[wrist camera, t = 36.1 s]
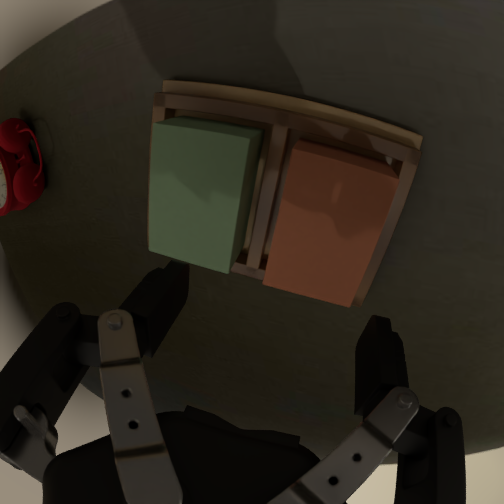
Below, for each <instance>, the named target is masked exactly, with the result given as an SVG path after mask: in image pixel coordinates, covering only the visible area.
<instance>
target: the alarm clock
mask: <svg viewBox="0 0 504 504" xmlns="http://www.w3.org/2000/svg"><path fill="white" fill-rule="evenodd" d="M31 134H32V136H33V138H34V140H35V143H36V146H37V149H38V153H39V158H40V166H39V165H37V164H35V163H34V162H33V158H32V155H31V152H30V149H29V146H28V145H29V143H30V140H31ZM42 165H43V162H42V155H41V151H40V147H39V144H38V141H37V139H36V136H35V134H34V133H33V131H32V130H31V129H30V128H29V126H28V125H27V124H26V123H25V122H24V121H23V120H21V119H17V118H11V119H8V120H6V121H4V122H3V123H2V124H1V125H0V216H4V215H6V214H7V213H8V212H10V211H12V210H23V209H24V208H26V207H28V206H29V205H30V203H32V202H34V201H36V200H37V199H38V198H39V197H40V196H41V194H42V192H43V190H44V186H45V176H44V173H43V170H42Z"/></svg>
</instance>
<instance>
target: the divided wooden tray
mask: <svg viewBox="0 0 504 504" xmlns="http://www.w3.org/2000/svg"><path fill="white" fill-rule="evenodd" d="M182 115H183V116H190V117H197V118H204V119H211V120H217V121H223V122H229V123H235V124H240V125H245V126H251V127H256V128H261V129H265V133H264V138H263V144H262V149H261V154H260V160H259V165H258V171H257V176H256V182H255V187H254V193H253V198H252V204H251V209H250V215H249V220H248V226H247V231H246V237H245V243H244V246H243V248H242V250H241V252H240V254H239V256H238V257H237V259H236V261H235V263H234V265H233V267H232V268H231V270H230V271H231V272H235V273H238V274H242V275H245V276H249V277H252V278H256V279H259V280H263V279H264V274H265V270H266V266H267V261H268V257H269V253H270V248H271V244H272V239H273V235H274V230H275V226H276V221H277V217H278V212H279V208H280V203H281V199H282V194H283V190H284V185H285V180H286V176H287V171H288V167H289V162H290V157H291V153H292V149H293V147H294V146H295V144H296V143H297V141H298V140H299V138H304V139H308V140H312V141H316V142H320V143H324V144H327V145H331V146H335V147H338V148H342V149H345V150H349V151H352V152H356V153H359V154H362V155H366V156H369V157H372V158H375V159H378V160H381V161H385V162H387V163H388V164H389V165H390V166H391V168H392V169H393V171H394V172H395V173H396V175H397V176H398V178H399V179H400V181H399V184H398V187H397V190H396V193H395V196H394V199H393V202H392V205H391V208H390V210H389V213H388V216H387V219H386V221H385V224H384V227H383V229H382V232H381V235H380V237H379V240H378V242H377V245H376V247H375V250H374V252H373V255H372V257H371V260H370V262H369V264H368V267H367V269H366V272H365V274H364V276H363V279H362V281H361V283H360V285H359V288H358V290H357V292H356V294H355V297H354V299H353V301H352V303H351V305H354V306H358V307H361V305H362V303H363V301H364V299H365V296H366V294H367V292H368V290H369V288H370V286H371V284H372V281H373V279H374V277H375V275H376V273H377V270H378V268H379V266H380V264H381V261H382V259H383V257H384V254H385V252H386V250H387V247H388V245H389V243H390V240H391V238H392V235H393V233H394V230H395V228H396V225H397V223H398V220H399V217H400V215H401V212H402V210H403V207H404V204H405V201H406V199H407V196H408V193H409V190H410V187H411V184H412V182H413V179H414V176H415V173H416V170H417V167H418V163H419V160H420V157H421V154H422V152H421V151H419V150H420V147H421V143H422V140H423V136H421V135H419V134H417V133H414V132H412V131H409V130H406V129H404V128H401V127H398V126H395V125H393V124H390V123H387V122H384V121H381V120H378V119H375V118H372V117H368V116H365V115H362V114H359V113H355V112H352V111H348V110H345V109H341V108H338V107H334V106H330V105H326V104H322V103H318V102H314V101H310V100H306V99H302V98H297V97H292V96H288V95H283V94H278V93H273V92H267V91H262V90H256V89H250V88H244V87H237V86H230V85H222V84H214V83H205V82H195V81H184V80H170V79H169V80H163V87H162V92H158V93H155V94H154V104H153V115H152V127H151V140H150V157H149V179H148V247H149V185H150V161H151V144H152V130H153V123H155V122H159V121H163V120H166V119H170V118H174V117H178V116H182Z"/></svg>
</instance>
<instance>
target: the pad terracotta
mask: <svg viewBox="0 0 504 504" xmlns="http://www.w3.org/2000/svg"><path fill="white" fill-rule="evenodd" d="M399 181H400V179H399V178H398V176H397V175H396V173H395V172H394V171H393V169H392V168H391V166H390V165H389V164H388V163H387V162H385V161H381V160H378V159H375V158H372V157H369V156H366V155H362V154H359V153H356V152H352V151H349V150H345V149H342V148H338V147H335V146H331V145H327V144H324V143H320V142H316V141H312V140H308V139H304V138H299V140H298V141H297V143H296V144H295V146H294V147H293V149H292V153H291V157H290V162H289V167H288V171H287V176H286V180H285V185H284V190H283V194H282V199H281V203H280V208H279V212H278V217H277V221H276V226H275V230H274V235H273V239H272V244H271V248H270V253H269V257H268V261H267V266H266V270H265V274H264V279H263V284H264V285H267V286H271V287H275V288H278V289H282V290H286V291H289V292H293V293H297V294H300V295H304V296H308V297H311V298H315V299H319V300H323V301H327V302H330V303H334V304H338V305H342V306H346V307H350V305H351V303H352V301H353V299H354V297H355V294H356V292H357V290H358V288H359V285H360V283H361V281H362V279H363V276H364V274H365V272H366V269H367V267H368V264H369V262H370V260H371V257H372V255H373V252H374V250H375V247H376V245H377V242H378V240H379V237H380V235H381V232H382V229H383V227H384V224H385V221H386V219H387V216H388V213H389V210H390V208H391V205H392V202H393V199H394V196H395V193H396V190H397V187H398V184H399Z"/></svg>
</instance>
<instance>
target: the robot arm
mask: <svg viewBox="0 0 504 504" xmlns="http://www.w3.org/2000/svg"><path fill="white" fill-rule="evenodd" d="M189 269H190V268H189V264H186V263H183V262H179V261H176V260H171V261H170V262H169V263H168V265H167V266H166V267H165V268H164V269H162V268H159V267H158V268H156V269H154V270H152V271H151V272H149V273H148V274H147V275H146V276H145V277H144V278H143V280H142V282H140V283H139V284H138V285H137V288H135V289H134V290H133V291H132V293H131V294H130V295H129V296H128V297H127V299H126V300H125V301H124V302H123V303H122V305H121V306H120V307H119V308H118V309H110V310H107V311H105V312H104V313H102V314H101V315H100V316H91V315H83V314H80V310H79V308H78V307H77V306H76V305H75V304H73V303H70V302H63V303H59V304H57V305H55V306H54V307H52V308H51V309H50V311H49V312H48V313H47V314H46V315H45V316H44V318H43V319H42V320H41V321H40V322H39V324H38V325H37V326H36V327H35V328H34V330H33V331H32V332H31V333H30V334H29V336H28V337H27V338H26V339H25V341H24V342H23V343H22V344H21V346H20V347H19V348H18V349H17V351H16V352H15V353H14V355H13V356H12V357H11V358H10V360H9V361H8V362H7V364H6V365H5V366H4V368H3V369H2V371H1V372H0V458H1V459H2V460H4V461H5V462H7V463H9V464H10V465H12V466H13V467H14V468H16V469H19V470H23V471H25V472H26V473H28V474H29V475H31V476H32V477H33V478H35V479H37V480H38V481H39V482H41V483H42V486H43V504H347V503H346V500H347V499H348V498H349V497H350V496H351V495H352V494H353V493H354V492H355V491H356V490H357V489H358V488H359V487H360V486H361V485H362V484H363V483H364V482H365V480H366V479H367V478H368V477H369V476H370V475H371V474H372V472H374V470H375V469H376V468H377V467H378V466H379V465H380V464H381V462H382V461H383V460H384V459H385V458H386V456H387V455H388V454H389V453H390V451H391V450H394V451H396V452H398V466H397V479H396V490H395V499H394V504H466V470H465V451H464V439H463V429H462V421H461V418H460V416H459V414H458V413H457V412H456V411H455V410H454V409H452V408H449V407H443V408H440V409H439V410H438V411H437V412H434V411H431V410H429V409H427V408H425V407H423V406H421V405H419V400H418V397H417V396H416V394H415V393H414V392H413V391H412V390H410V389H409V383H408V375H407V367H406V361H405V354H404V347H403V342H402V340H401V338H400V337H399V335H398V333H397V332H393V331H392V328H391V322H390V319H389V318H385V317H381V316H377V315H372V316H371V318H370V320H369V322H368V323H367V325H366V327H365V329H364V331H363V332H362V334H361V336H360V338H359V340H358V342H357V346H356V351H355V409H354V415H360V416H363V421H362V422H361V423H360V424H359V425H358V426H357V427H356V428H355V429H354V430H353V431H352V432H351V433H350V434H349V435H348V436H347V437H346V438H345V439H344V440H343V441H342V442H341V443H340V444H339V445H338V446H337V447H336V448H335V449H333V450H332V451H331V452H330V453H329V454H328V455H327V456H326V457H325V458H323V459H322V460H321V461H320V459H319V458H318V457H317V456H316V455H315V454H314V453H313V452H311V451H310V450H309V449H307V448H306V447H304V446H302V445H300V444H299V441H300V436H295V435H291V434H286V433H282V432H277V431H273V430H244V429H240V428H238V427H236V426H234V425H232V424H231V423H229V422H227V421H225V420H223V419H222V418H220V417H218V416H216V415H215V414H212V413H209V412H206V411H203V410H200V409H197V408H194V407H191V406H188V405H187V406H186V408H185V411H184V412H181V411H170V412H163V413H158V414H156V413H155V409H154V406H153V402H152V398H151V395H150V391H149V387H148V383H147V379H146V375H145V371H144V367H143V363H142V359H141V358H142V357H143V355H146V356H148V357H151V358H152V357H153V355H154V354H155V352H156V350H157V349H158V347H159V345H160V344H161V342H162V341H163V339H164V337H165V336H166V334H167V332H168V331H169V329H170V327H171V326H172V324H173V323H174V321H175V319H176V318H177V316H178V314H179V313H180V311H181V310H182V308H183V306H184V305H185V303H186V300H187V297H188V289H189ZM90 366H94V367H100V377H101V384H102V391H103V397H104V403H105V409H106V415H107V420H108V426H109V431H110V434H109V435H107V436H105V437H102V438H99V439H97V440H94V441H92V442H90V443H87V444H84V445H82V446H79V447H76V448H74V449H71V450H68V451H66V452H63V453H61V454H59V455H57V456H56V453H55V449H56V444H57V442H58V433H57V430H56V428H55V427H54V425H55V424H56V422H57V420H58V418H59V417H60V415H61V413H62V411H63V410H64V408H65V406H66V405H67V403H68V401H69V400H70V398H71V396H72V395H73V393H74V391H75V390H76V388H77V386H78V385H79V383H80V381H81V380H82V378H83V377H84V375H85V373H86V372H87V370H88V369H89V367H90Z"/></svg>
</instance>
